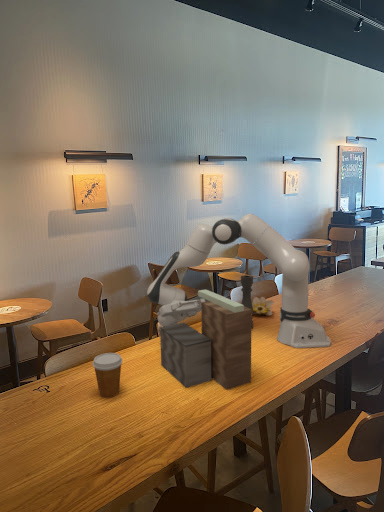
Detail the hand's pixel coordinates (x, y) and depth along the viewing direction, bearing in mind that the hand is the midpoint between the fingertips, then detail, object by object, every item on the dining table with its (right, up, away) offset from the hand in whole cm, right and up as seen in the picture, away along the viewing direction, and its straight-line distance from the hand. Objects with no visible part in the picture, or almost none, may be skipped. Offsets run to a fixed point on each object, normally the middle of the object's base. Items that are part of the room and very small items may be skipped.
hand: (190, 302), depth 155 cm
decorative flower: (+36, -13, +48) cm, 61 cm away
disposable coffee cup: (-27, -26, -28) cm, 47 cm away
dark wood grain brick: (-2, -24, -15) cm, 28 cm away
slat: (+10, +2, -19) cm, 22 cm away
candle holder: (+27, -16, +30) cm, 43 cm away
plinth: (+13, -24, -18) cm, 33 cm away
